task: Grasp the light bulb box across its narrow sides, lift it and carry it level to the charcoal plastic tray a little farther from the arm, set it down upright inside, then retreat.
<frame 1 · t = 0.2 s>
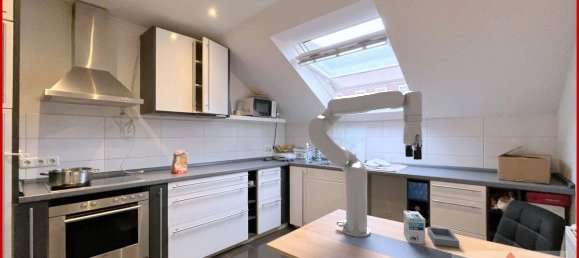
hand: (413, 158, 117), 35 cm above the table, tool pointing down, fingers open, 9 cm apart
light bulb box: (413, 239, 116), on the table
tray: (442, 240, 114), on the table
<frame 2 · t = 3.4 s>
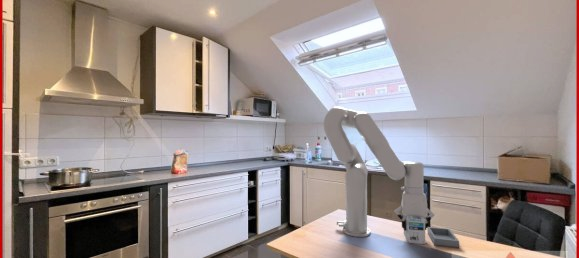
hand: (413, 230, 116), 4 cm above the table, tool pointing down, fingers closed on light bulb box, 7 cm apart
light bulb box: (413, 239, 116), on the table, touching gripper
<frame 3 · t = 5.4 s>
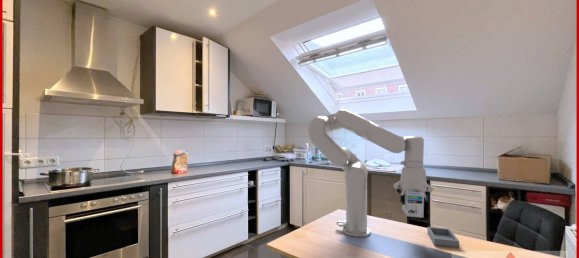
hand: (412, 204, 116), 15 cm above the table, tool pointing down, fingers closed on light bulb box, 7 cm apart
light bulb box: (412, 213, 116), point 11 cm above the table, touching gripper
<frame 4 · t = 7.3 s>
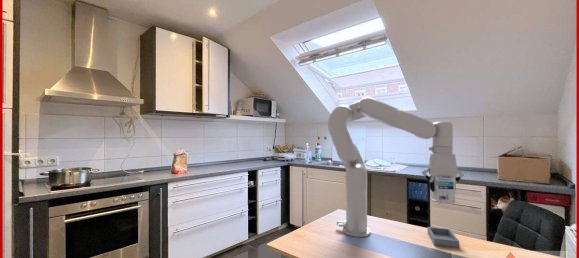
hand: (442, 191, 114), 21 cm above the table, tool pointing down, fingers closed on light bulb box, 7 cm apart
light bulb box: (442, 200, 114), point 17 cm above the table, touching gripper
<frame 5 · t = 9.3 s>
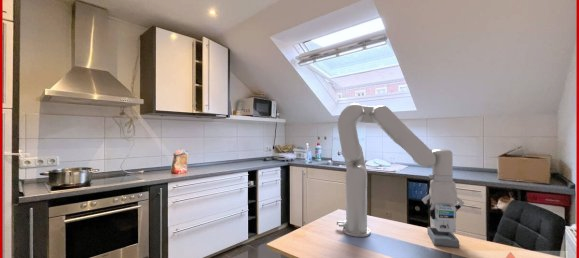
hand: (442, 218, 114), 9 cm above the table, tool pointing down, fingers closed on light bulb box, 7 cm apart
light bulb box: (442, 228, 114), point 5 cm above the table, touching gripper
when the fingers open (5 cm above the table, at t = 11.1 s): light bulb box stays where it is, resting on tray.
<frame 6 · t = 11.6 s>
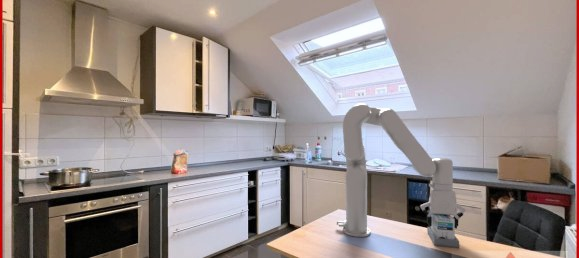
hand: (442, 226, 114), 6 cm above the table, tool pointing down, fingers open, 9 cm apart
light bulb box: (441, 239, 114), resting on tray
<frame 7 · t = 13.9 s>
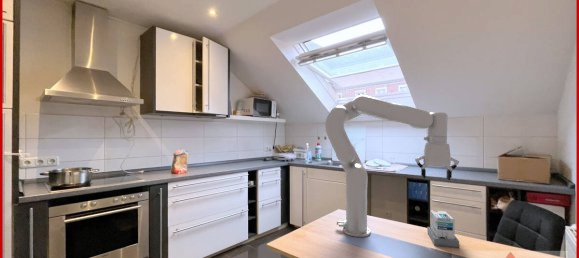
hand: (435, 178, 117), 26 cm above the table, tool pointing down, fingers open, 9 cm apart
nothing on the table moved.
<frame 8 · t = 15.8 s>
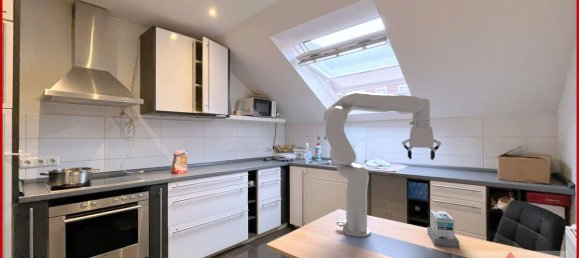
hand: (421, 159, 129), 33 cm above the table, tool pointing down, fingers open, 9 cm apart
nothing on the table moved.
at the end: light bulb box 0.1 cm off-centre on the tray, point 0.4 cm above the tray's base; light bulb box tilted 0°; the gripper is holding nothing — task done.
